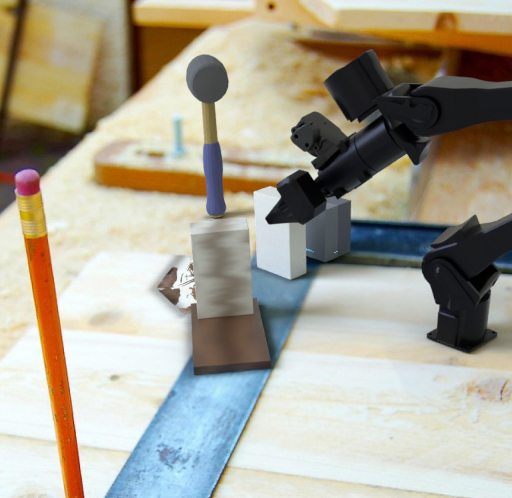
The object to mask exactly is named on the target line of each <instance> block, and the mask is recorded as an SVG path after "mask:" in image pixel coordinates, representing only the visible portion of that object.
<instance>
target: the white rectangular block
mask: <svg viewBox="0 0 512 498" xmlns="http://www.w3.org/2000/svg"><path fill="white" fill-rule="evenodd" d="M280 198H281V195H280V194H279V192H278V191H277V187H274V186H271V185H269V186H266V187H264V188H260V189H257V190H254V191H253V208H254V209H253V210H254V230H255V249H256V250H255V251H256V252H255V253H256V267H257V268H258V269H260V270H263V271H266V272H269V273H271V274H274V275H277V276H279V277H282V278H284V279H288V280H290V281H292V280H294V279H296V278H299V277H301V276H303V275H305V274H307V256H306V224H304V225H302V224H299V223H283V224H272V225H269V224H268V223H267V221H266V220H265V217H266V216H267V215H268V214H269V212H270V211H271V210H272V209H273V207H274V206H275V205H276V203H277V202H278V201H279V199H280Z"/></svg>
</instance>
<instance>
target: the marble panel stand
mask: <svg viewBox="0 0 512 498" xmlns="http://www.w3.org/2000/svg"><path fill="white" fill-rule="evenodd" d="M189 234H190V246H191V256H192V257H191V259H192V262H193V269H194V271H193V272H194V273H193V274H194V277H193V278H194V280H195V282H194V284H195V291H196V300H195V301H196V302H194V303H193V302H191V303H190V306H191V313H190V321H191V322H190V323H191V344H192V345H191V346H192V348H191V349H192V366H193V369H192V370H193V375H194V376H196V375H197V376H198V375H207V374H208V375H209V374H220V373H234V372H243V371H244V372H245V371H257V370H269V369H272V359H271V355H270V354H271V353H270V349H269V346H268V342H267V338H266V337H267V336H266V332H265V328H264V323H263V319H262V314H261V310H260V306H259V301H258V297H254V296H253V278H252V262H251V261H252V259H251V243H250V238H251V237H250V227H249V224H248V220H247V217H246V216H244V217H233V218H224V219H216V220H215V219H213V220H204V221H195V222H194V221H193V222H189Z"/></svg>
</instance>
